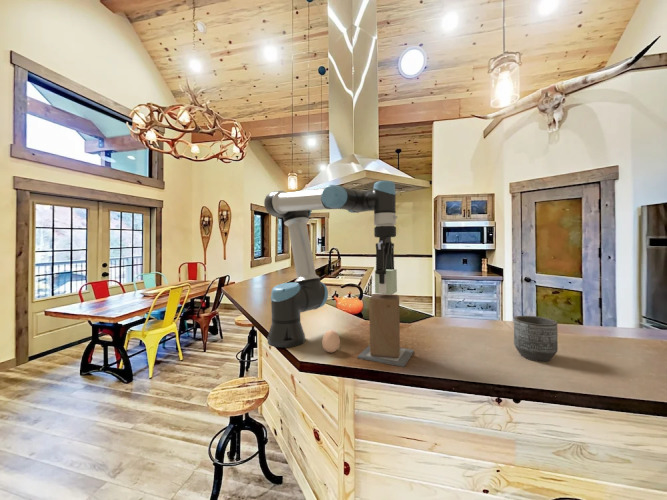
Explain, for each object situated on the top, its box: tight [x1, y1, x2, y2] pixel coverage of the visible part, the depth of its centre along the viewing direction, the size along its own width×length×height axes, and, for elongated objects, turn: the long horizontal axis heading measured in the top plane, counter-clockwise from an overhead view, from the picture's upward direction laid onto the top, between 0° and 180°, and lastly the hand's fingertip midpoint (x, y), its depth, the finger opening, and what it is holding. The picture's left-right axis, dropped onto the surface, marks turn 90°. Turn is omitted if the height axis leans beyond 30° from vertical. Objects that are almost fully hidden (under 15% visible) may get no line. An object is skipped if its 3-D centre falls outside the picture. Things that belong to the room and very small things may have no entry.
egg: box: [321, 329, 341, 353], centre depth 103 cm, size 7×7×8 cm
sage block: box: [374, 268, 398, 295], centre depth 99 cm, size 6×6×8 cm
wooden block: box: [368, 293, 401, 358], centre depth 100 cm, size 10×10×20 cm
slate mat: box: [357, 344, 414, 368], centre depth 100 cm, size 16×14×1 cm
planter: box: [513, 315, 559, 363], centre depth 96 cm, size 12×12×13 cm
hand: (385, 291), depth 99 cm, fingers closed on sage block, 6 cm apart
